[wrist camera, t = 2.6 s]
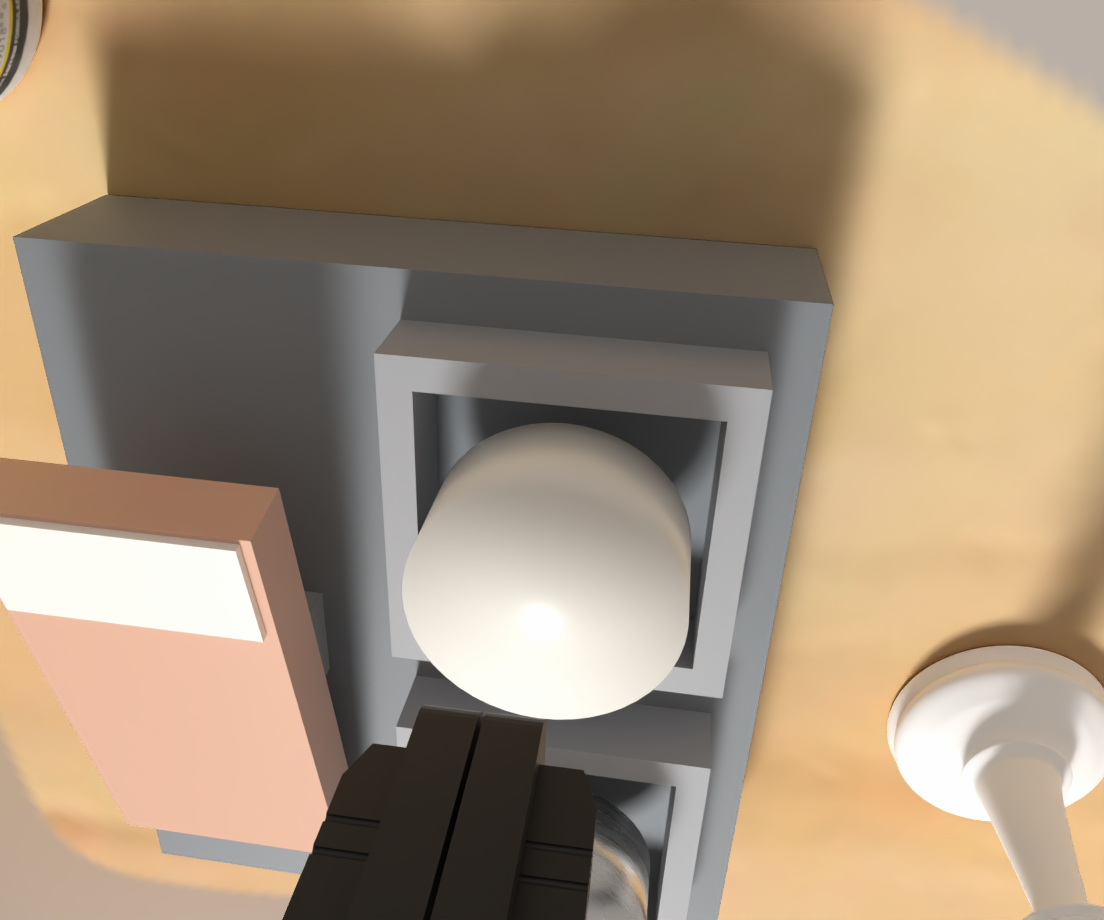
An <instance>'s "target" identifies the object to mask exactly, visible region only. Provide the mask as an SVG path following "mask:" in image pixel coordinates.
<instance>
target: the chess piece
mask: <svg viewBox="0 0 1104 920" xmlns="http://www.w3.org/2000/svg"><path fill="white" fill-rule="evenodd" d="M887 738H888V743H889V747H890V750H891V752H892V754H893V756H894V758H895V760H896V763H897V766H898V768H899V771H900V773H901V775H902V776H903V778H904V779H905V781H906V782H907V783H908V785H909V786H910V787H911V788H912V789H913V790H914V791H915V792H916V793H917V794H918V795H919V796H921V797H922V798H923V799H925V800H926V801H928V802H929V803H931V804H932V805H934V806H936V807H938V808H940V809H942V810H944V811H947V812H949V813H952V814H955V815H959V816H962V817H966V818H971V819H977V820H984V821H991V823H992V825H993V827H994V829H995V831H996V833H997V835H998V837H999V839H1000V841H1001V843H1002V845H1003V847H1004V849H1005V851H1006V853H1007V855H1008V857H1009V860H1010V862H1011V864H1012V866H1013V868H1014V870H1015V872H1016V874H1017V876H1018V878H1019V881H1020V883H1021V885H1022V887H1023V890H1024V892H1025V894H1026V897H1027V899H1028V901H1029V903H1030V905H1031V908H1032V910H1033V913H1031V914H1029V915H1028V916H1026V917H1025V918H1024V919H1023V920H1104V907H1103V906H1099V905H1095V904H1089V903H1088V900H1087V896H1086V892H1085V888H1084V885H1083V882H1082V878H1081V875H1080V871H1079V867H1078V863H1077V858H1076V854H1075V850H1074V846H1073V841H1072V837H1071V832H1070V828H1069V823H1068V819H1067V815H1066V810H1065V807H1066V806H1068V805H1070V804H1072V803H1074V802H1075V801H1077V800H1079V799H1080V798H1082V797H1083V796H1085V795H1086V794H1087V793H1088V792H1090V791H1091V790H1092V789H1093V788H1094V787H1095V786H1096V785H1097V784H1098V783H1099V782H1100V781H1101V780H1102V779H1103V777H1104V688H1103V687H1102V685H1101V684H1100V683H1099V681H1098V680H1097V679H1096V678H1095V677H1094V676H1093V675H1092V674H1091V673H1090V672H1088V671H1087V670H1086V669H1085V668H1083V667H1082V666H1080V665H1079V664H1077V663H1076V662H1074V661H1072V660H1070V659H1068V658H1066V657H1064V656H1061V655H1059V654H1056V653H1053V652H1050V651H1046V650H1042V649H1038V648H1032V647H1025V646H990V647H982V648H977V649H972V650H968V651H964V652H961V653H957V654H955V655H952V656H949V657H947V658H944V659H942V660H940V661H938V662H936V663H934V664H933V665H931V666H929V667H928V668H926V669H924V670H923V671H922V672H920V673H919V674H918V675H916V676H915V677H914V678H913V679H912V680H911V681H910V682H909V683H908V684H907V685H906V686H905V687H904V688H903V689H902V691H901V692H900V693H899V695H898V696H897V698H896V700H895V701H894V703H893V705H892V708H891V710H890V713H889V717H888V722H887Z"/></svg>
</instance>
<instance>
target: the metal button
mask: <svg viewBox="0 0 1104 920" xmlns="http://www.w3.org/2000/svg"><path fill="white" fill-rule="evenodd" d="M592 795H593V798H594V800H595V803H596V806H597V817H596V828H595V839H594V850H593V861H592V872H591V883H590V893H589V902H588V912H587V920H647V906H648V891H649V876H650V856H649V850H648V847H647V844H646V842H645V839H644V838H643V836H642V834H641V832H640V831H639V829H638V828H637V827H636V825H635V824H634V823H633V822H632V821H631V819H630V818H629V817H628V816H627V815H626V814H625V813H623V812H622V811H621V810H620V809H618V808H617V807H616V806H615V805H613V804H612V803H610V802H608V801H607V800H605V799H604V798H602V797H600V796H598V795H596V794H594V793H592Z"/></svg>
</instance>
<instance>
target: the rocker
mask: <svg viewBox="0 0 1104 920" xmlns="http://www.w3.org/2000/svg"><path fill="white" fill-rule="evenodd" d="M0 600H1V602H2V604H3V606H4V607H5V609H6V611H7V613H8V614H9V616H10V618H11V620H12V621H13V623H14V625H15V627H16V629H17V630H18V632H19V634H20V636H21V637H22V639H23V641H24V643H25V644H26V646H27V648H28V650H29V651H30V653H31V655H32V657H33V658H34V660H35V662H36V664H37V665H38V667H39V669H40V671H41V673H42V674H43V676H44V678H45V680H46V681H47V683H48V685H49V687H50V688H51V690H52V692H53V694H54V695H55V697H56V699H57V701H58V702H59V704H60V706H61V708H62V710H63V711H64V713H65V715H66V717H67V718H68V720H69V722H70V724H71V725H72V727H73V729H74V731H75V732H76V734H77V736H78V738H79V739H80V741H81V743H82V745H83V746H84V748H85V750H86V752H87V754H88V755H89V757H90V759H91V761H92V762H93V764H94V766H95V768H96V769H97V771H98V773H99V775H100V776H101V778H102V780H103V782H104V783H105V785H106V787H107V789H108V791H109V792H110V794H111V796H112V798H113V799H114V801H115V803H116V805H117V806H118V808H119V810H120V812H121V813H122V815H123V817H124V819H125V820H126V822H127V824H128V825H132V826H139V827H146V828H152V829H159V830H166V831H172V832H179V833H186V834H192V835H199V836H205V837H212V838H219V839H225V840H232V841H239V842H245V843H252V844H259V845H265V846H272V847H278V848H285V849H292V850H298V851H305V852H312V850H313V844H314V842H315V839H316V837H317V834H318V832H319V830H320V827H321V825H322V822H323V821H325V819H326V813H327V810H328V808H329V805H330V803H331V800H332V798H333V796H334V793H335V791H336V788H337V786H338V783H339V781H340V779H341V776H342V774H343V773H344V772H345V771H346V770H347V769H348V765H347V761H346V757H345V753H344V749H343V745H342V741H341V737H340V733H339V729H338V725H337V721H336V717H335V713H334V709H333V704H332V700H331V696H330V692H329V688H328V684H327V680H326V676H325V672H324V668H323V664H322V660H321V656H320V652H319V648H318V644H317V640H316V636H315V632H314V628H313V624H312V620H311V616H310V612H309V608H308V604H307V600H306V596H305V592H304V588H303V584H302V580H301V576H300V572H299V568H298V563H297V559H296V555H295V551H294V547H293V543H292V539H291V535H290V531H289V527H288V523H287V519H286V515H285V511H284V507H283V503H282V499H281V495H280V491H279V488H274V487H264V486H255V485H246V484H237V483H228V482H219V481H209V480H200V479H191V478H182V477H173V476H163V475H154V474H145V473H136V472H127V471H118V470H108V469H99V468H90V467H81V466H72V465H62V464H53V463H44V462H35V461H26V460H17V459H7V458H0Z"/></svg>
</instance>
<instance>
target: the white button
mask: <svg viewBox="0 0 1104 920" xmlns="http://www.w3.org/2000/svg"><path fill="white" fill-rule="evenodd" d="M691 540H692V538H691V529H690V522H689V518H688V515H687V511H686V508H685V506H684V504H683V501H682V499H681V497H680V495H679V493H678V491H677V490H676V488H675V486H674V485H673V483H672V482H671V480H670V479H669V478H668V477H667V475H666V474H665V473H664V472H663V471H662V469H661V468H660V467H659V466H658V465H657V464H655V463H654V462H653V461H652V460H651V459H650V458H649V457H648V456H646V455H645V454H644V453H642V452H641V451H640V450H638V449H637V448H635V447H634V446H632V445H630V444H629V443H627V442H625V441H623V440H621V439H620V438H618V437H615V436H613V435H610V434H608V433H605V432H603V431H600V430H596V429H593V428H589V427H586V426H580V425H574V424H568V423H537V424H528V425H524V426H519V427H514V428H511V429H508V430H505V431H502V432H499V433H497V434H495V435H493V436H491V437H489V438H487V439H485V440H483V441H481V442H480V443H479V444H477V445H476V446H474V447H473V448H471V449H470V450H469V451H468V452H467V453H466V454H465V455H463V456H462V457H461V458H460V459H459V460H458V462H457V463H456V464H455V465H454V467H453V468H452V469H451V470H450V472H449V474H448V475H447V477H446V479H445V481H444V482H443V484H442V486H441V488H440V490H439V493H438V495H437V497H436V499H435V501H434V503H433V505H432V507H431V509H430V511H429V513H428V515H427V518H426V520H425V522H424V524H423V526H422V528H421V530H420V532H419V534H418V536H417V538H416V541H415V543H414V545H413V547H412V549H411V551H410V554H409V556H408V559H407V562H406V564H405V569H404V574H403V580H402V598H403V605H404V611H405V615H406V618H407V622H408V625H409V627H410V629H411V631H412V634H413V636H414V638H415V640H416V641H417V643H418V645H419V646H420V648H421V650H422V651H423V653H424V654H425V655H426V656H427V658H428V659H429V660H430V661H431V663H432V664H433V665H434V666H435V667H436V668H437V669H438V670H439V671H440V672H441V673H442V674H443V675H444V676H445V677H446V678H448V679H449V680H450V681H451V682H453V683H454V684H455V685H456V686H458V687H459V688H461V689H462V690H464V691H465V692H467V693H469V694H470V695H472V696H473V697H475V698H477V699H479V700H481V701H483V702H485V703H487V704H490V705H492V706H495V707H497V708H500V709H502V710H505V711H509V712H512V713H516V714H519V715H524V716H529V717H535V718H542V719H555V720H564V719H581V718H589V717H594V716H598V715H603V714H607V713H610V712H613V711H616V710H618V709H621V708H624V707H626V706H628V705H630V704H632V703H634V702H636V701H638V700H639V699H641V698H642V697H644V696H645V695H647V694H648V693H650V692H651V691H652V690H653V689H654V688H655V687H657V686H658V685H659V684H660V683H661V682H662V681H663V680H664V679H665V677H666V676H667V675H668V674H669V673H670V672H671V670H672V669H673V667H674V665H675V664H676V662H677V661H678V659H679V657H680V655H681V652H682V650H683V647H684V645H685V641H686V637H687V632H688V625H689V601H690V571H691Z"/></svg>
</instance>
